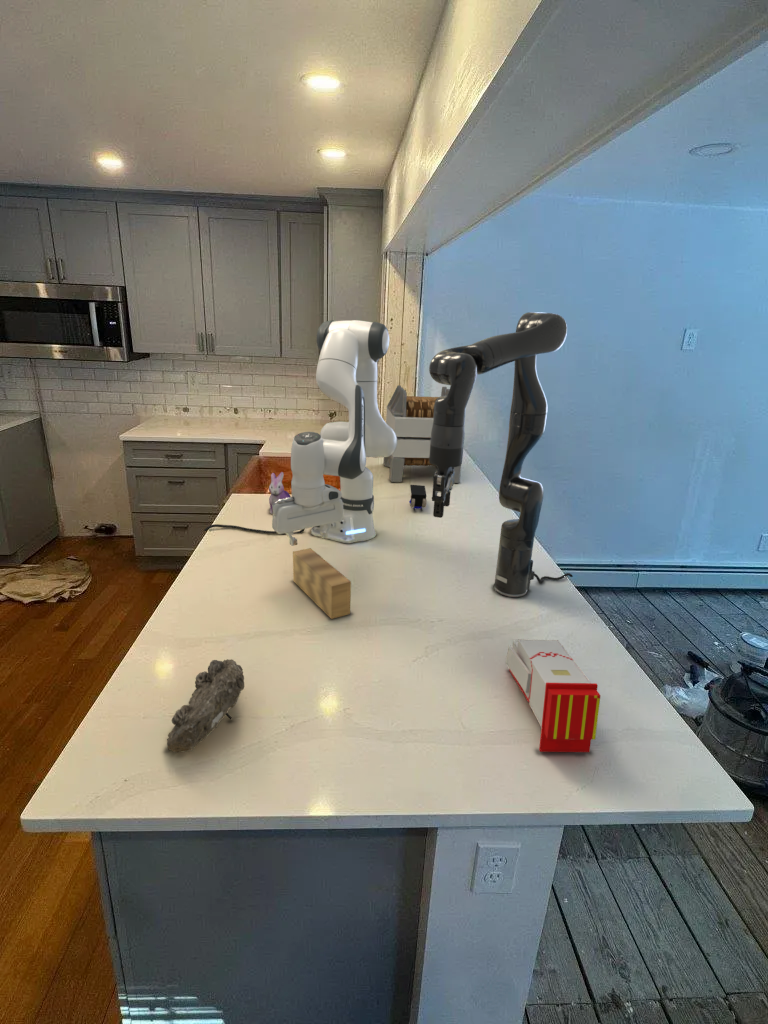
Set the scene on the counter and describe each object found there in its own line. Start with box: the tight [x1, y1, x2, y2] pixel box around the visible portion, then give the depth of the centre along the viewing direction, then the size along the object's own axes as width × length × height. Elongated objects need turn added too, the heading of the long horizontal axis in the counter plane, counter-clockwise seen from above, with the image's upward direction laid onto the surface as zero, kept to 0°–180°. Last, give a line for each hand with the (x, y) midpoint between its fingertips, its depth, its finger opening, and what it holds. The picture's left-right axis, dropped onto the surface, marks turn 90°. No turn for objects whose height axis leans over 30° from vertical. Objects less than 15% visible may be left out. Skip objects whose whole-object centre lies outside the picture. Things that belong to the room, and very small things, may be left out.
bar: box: [292, 547, 352, 620], centre depth 153 cm, size 24×6×9 cm, turn 32°
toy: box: [505, 638, 602, 753], centre depth 114 cm, size 12×13×30 cm
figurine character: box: [408, 484, 428, 512], centre depth 226 cm, size 7×8×15 cm
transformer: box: [383, 384, 462, 484], centre depth 268 cm, size 34×33×41 cm
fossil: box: [166, 658, 245, 754], centre depth 106 cm, size 22×10×15 cm
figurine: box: [268, 471, 292, 515], centre depth 214 cm, size 9×10×15 cm
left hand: (308, 541), depth 156 cm, fingers open, 8 cm apart
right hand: (441, 511), depth 133 cm, fingers open, 8 cm apart
